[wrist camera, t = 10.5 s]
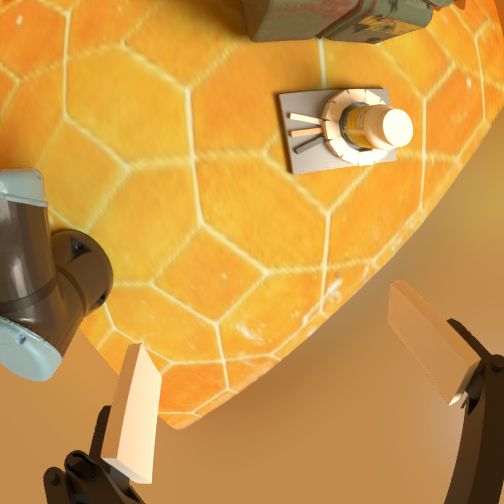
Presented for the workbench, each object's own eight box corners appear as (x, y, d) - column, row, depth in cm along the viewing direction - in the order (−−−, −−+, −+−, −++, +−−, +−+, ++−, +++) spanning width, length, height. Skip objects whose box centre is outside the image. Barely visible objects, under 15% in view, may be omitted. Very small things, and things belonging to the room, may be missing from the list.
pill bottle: (378, 141, 39) (422, 147, 28) (346, 151, 39) (385, 158, 29) (368, 103, 36) (410, 99, 26) (334, 112, 36) (371, 107, 26)
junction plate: (291, 173, 41) (297, 177, 38) (277, 95, 36) (282, 92, 33) (392, 159, 41) (403, 162, 38) (383, 89, 36) (394, 88, 33)
